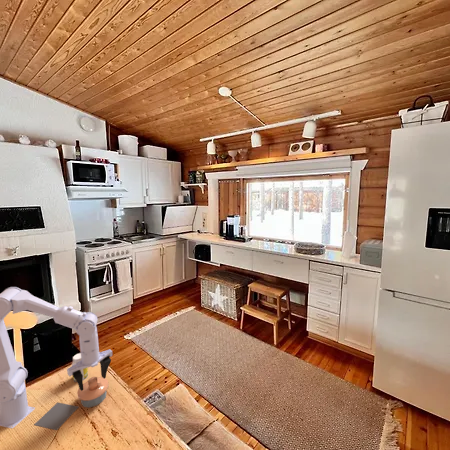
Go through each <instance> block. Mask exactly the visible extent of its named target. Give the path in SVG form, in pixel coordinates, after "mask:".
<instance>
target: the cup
mask: <svg viewBox="0 0 450 450" xmlns="http://www.w3.org/2000/svg"><path fill="white" fill-rule="evenodd" d="M106 398H107V391H106V392H105V393H104V394H102V395H101V396H100V397H98V398H96V399H93V400H89V401H83V400H80V401H81V404H82V406H83V407H84V408H92V407H97V406H98V405H100V404H101V403H102V402H104V400H106Z"/></svg>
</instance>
